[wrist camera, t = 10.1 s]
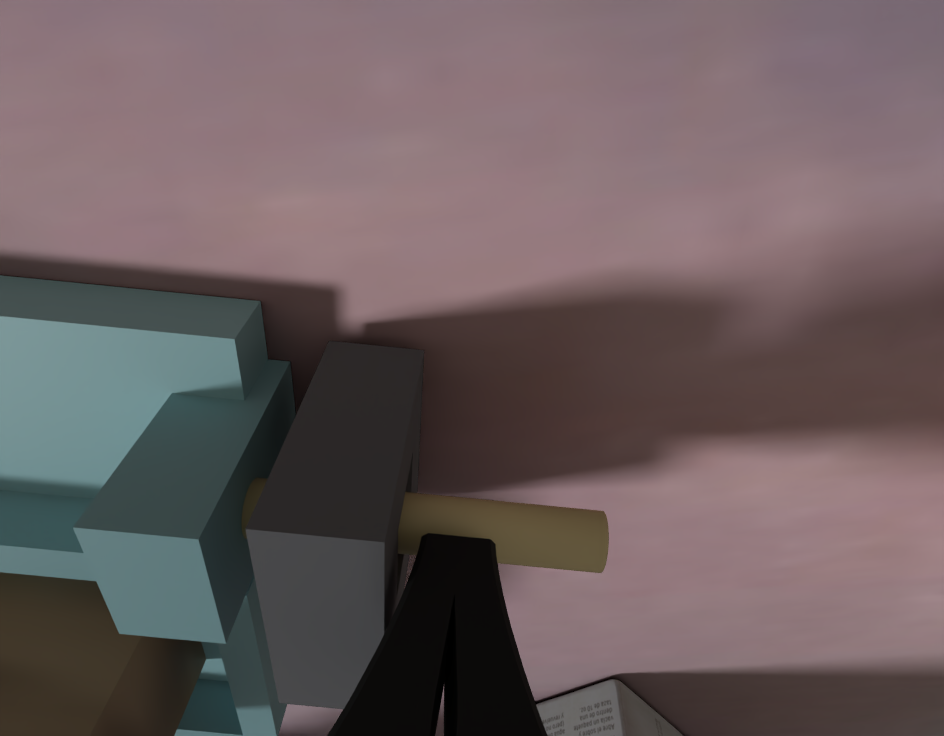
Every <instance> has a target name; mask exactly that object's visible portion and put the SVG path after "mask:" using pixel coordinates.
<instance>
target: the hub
mask: <svg viewBox="0 0 944 736" xmlns="http://www.w3.org/2000/svg"><path fill="white" fill-rule="evenodd" d="M423 364H424V350H417V349H407V348H397V347H386V346H376V345H366V344H356V343H346V342H336V341H329V342H328V345H327V347H326V349H325V351H324V354H323V356H322V358H321V360H320V362H319V365H318V367H317V369H316V371H315V374H314V376H313V378H312V380H311V383H310V385H309V387H308V389H307V392H306V394H305V396H304V398H303V401H302V403H301V405H300V407H299V410H298V412H297V414H296V416H295V419H294V421H293V423H292V425H291V428H290V430H289V432H288V434H287V437H286V439H285V441H284V443H283V445H282V448H281V450H280V452H279V454H278V457H277V459H276V461H275V463H274V466H273V468H272V470H271V472H270V475H269V477H268V479H267V481H266V484H265V486H264V488H263V490H262V493H261V495H260V497H259V499H258V502H257V504H256V506H255V508H254V511H253V513H252V515H251V517H250V520H249V522H248V524H247V526H246V529H245V530H246V535H247V541H248V546H249V551H250V556H251V561H252V566H253V571H254V577H255V582H256V587H257V592H258V597H259V602H260V607H261V613H262V618H263V623H264V628H265V633H266V638H267V644H268V649H269V654H270V659H271V664H272V669H273V674H274V680H275V685H276V690H277V695H278V700H279V703H284V704H295V705H305V706H316V707H327V708H337V709H344V708H345V706H346V704H347V703H348V701H349V699H350V697H351V696H352V694H353V692H354V690H355V688H356V687H357V685H358V683H359V681H360V679H361V677H362V676H363V674H364V672H365V670H366V668H367V666H368V664H369V663H370V661H371V659H372V657H373V655H374V653H375V652H376V650H377V648H378V646H379V644H380V642H381V640H382V638H383V635H384V633H385V631H386V629H387V627H388V625H389V623H390V621H391V618H392V616H393V614H394V612H395V610H396V608H397V606H398V603H399V601H400V599H401V596H402V594H403V591H404V586H405V580H406V573H407V567H408V561H409V555H407V554H398V528H399V523H400V518H401V512H402V507H403V502H404V497H405V492H411V493H417V491H418V470H419V449H420V428H421V407H422V385H423Z"/></svg>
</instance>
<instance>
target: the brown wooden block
mask: <svg viewBox="0 0 944 736" xmlns="http://www.w3.org/2000/svg"><path fill="white" fill-rule="evenodd" d="M205 661H206V656H205V653H204V649H203V646H202V643H201V642H200V641H190V640H179V639H169V638H158V637H148V636H137V635H126V634H119V632H118V630H117V628H116V625H115V623H114V621H113V618H112V616H111V614H110V612H109V609H108V607H107V605H106V602H105V600H104V598H103V596H102V593H101V591H100V589H99V586H98V584H97V582H96V581H88V580H77V579H67V578H56V577H46V576H35V575H25V574H14V573H4V572H0V736H174V735H175V733H176V730H177V728H178V726H179V723H180V721H181V718H182V716H183V714H184V711H185V709H186V707H187V704H188V702H189V699H190V697H191V695H192V692H193V690H194V687H195V685H196V683H197V680H198V678H199V676H200V673H201V671H202V668H203V666H204V664H205Z"/></svg>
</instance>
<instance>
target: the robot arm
mask: <svg viewBox="0 0 944 736" xmlns="http://www.w3.org/2000/svg"><path fill="white" fill-rule="evenodd" d="M443 687H444V736H548V735H547V733H546V730H545V727H544V725H543V722H542V720H541V717H540V714H539V711H538V709H537V706H536V703H535V700H534V697H533V695H532V692H531V689H530V686H529V683H528V680H527V677H526V674H525V671H524V668H523V665H522V662H521V658H520V655H519V652H518V648H517V645H516V642H515V638H514V635H513V632H512V628H511V624H510V620H509V617H508V613H507V609H506V604H505V600H504V596H503V591H502V586H501V581H500V576H499V570H498V563H497V556H496V544H495V543H494V542H493V541H492V540H491V539H485V538H475V537H465V536H454V535H444V534H434V533H427V534H425V535H423V536H421V541H420V545H419V549H418V553H417V556H416V559H415V562H414V565H413V568H412V571H411V574H410V576H409V579H408V582H407V584H406V587H405V589H404V591H403V594H402V596H401V599H400V601H399V603H398V606H397V608H396V610H395V612H394V614H393V616H392V618H391V621H390V623H389V625H388V627H387V629H386V631H385V633H384V635H383V638H382V640H381V642H380V644H379V646H378V648H377V650H376V652H375V653H374V655H373V657H372V659H371V661H370V663H369V664H368V666H367V668H366V670H365V672H364V674H363V676H362V677H361V679H360V681H359V683H358V685H357V687H356V688H355V690H354V692H353V694H352V696H351V697H350V699H349V701H348V703H347V704H346V706H345V708H344V709H343V711H342V713H341V714H340V716H339V718H338V719H337V721H336V723H335V724H334V726H333V728H332V729H331V731H330V732H329V734H328V736H435V733H436V727H437V721H438V715H439V710H440V704H441V698H442V692H443Z"/></svg>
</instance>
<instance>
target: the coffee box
mask: <svg viewBox="0 0 944 736" xmlns="http://www.w3.org/2000/svg"><path fill="white" fill-rule="evenodd" d="M536 706H537V709H538V711H539V714H540V717H541V720H542V722H543V725H544V727H545V730H546V733H547V735H548V736H683V735H682V734H681V733H680V732H679V731H678V730H676V729H675V728H674V727H673V726H672V725H671V724H670V723H668V722H667V721H666V720H665V719H664V718H663V717H661V716H660V715H659V714H658V713H657V712H656V711H654V710H653V709H652V708H651V707H650V706H649V705H647V704H646V703H645V702H644V701H643V700H642V699H640V698H639V697H638V696H637V695H636V694H635V693H633V692H632V691H631V690H630V689H629V688H628V687H626V686H625V685H624V684H623V683H622V682H620V681H619V680H614V679H611V680H608V681H604V682H601V683H598V684H595V685H592V686H589V687H586V688H583V689H581V690H578V691H575V692H572V693H569V694H566V695H563V696H560V697H557V698H554V699H550V700H547V701H544V702H541V703H538V704H536Z"/></svg>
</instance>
